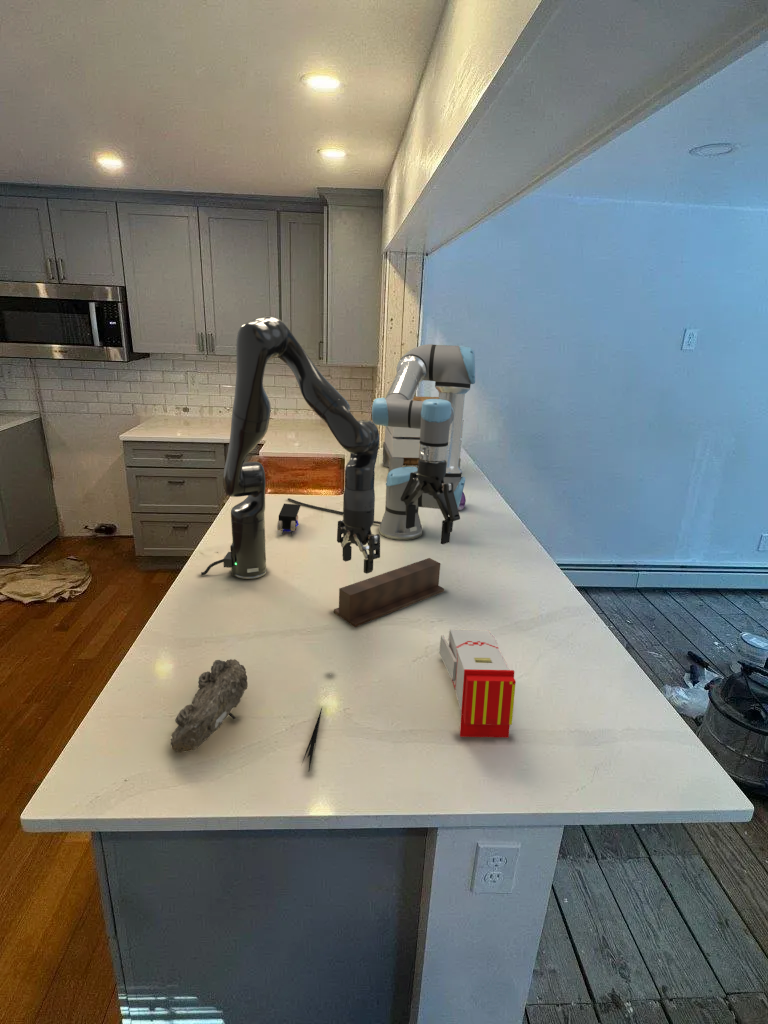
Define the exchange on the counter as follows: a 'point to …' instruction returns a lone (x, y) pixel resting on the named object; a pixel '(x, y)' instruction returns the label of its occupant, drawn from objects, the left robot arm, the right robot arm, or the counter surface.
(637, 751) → the counter surface
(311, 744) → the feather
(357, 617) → the rail
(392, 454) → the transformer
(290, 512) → the figurine character
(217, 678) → the fossil
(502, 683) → the toy
